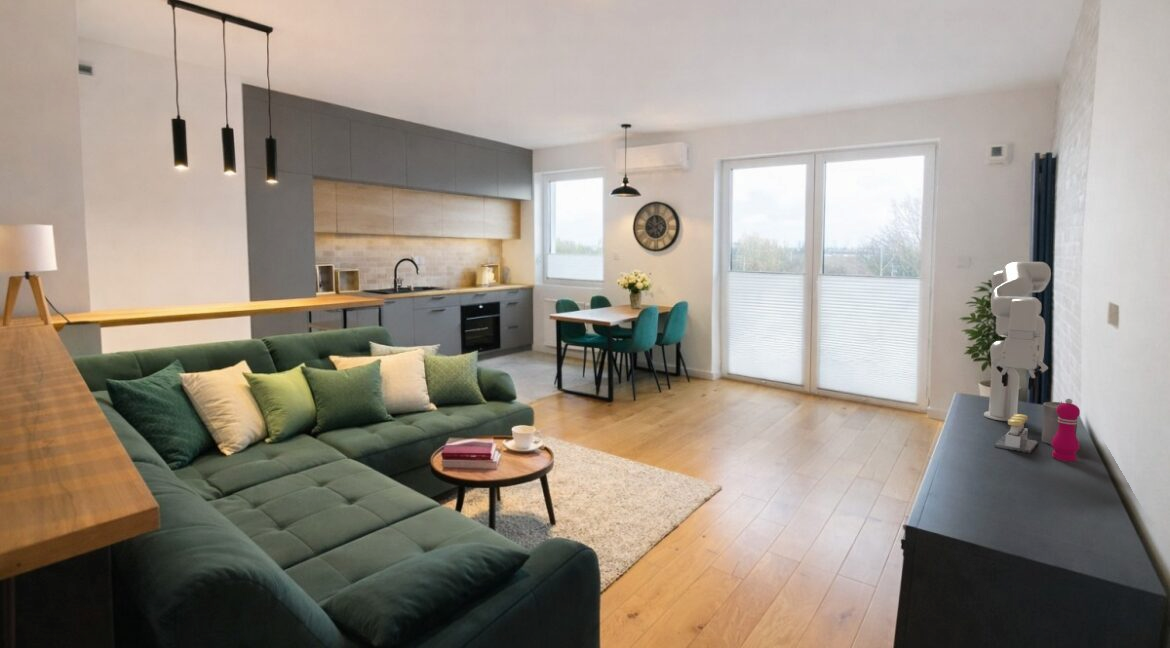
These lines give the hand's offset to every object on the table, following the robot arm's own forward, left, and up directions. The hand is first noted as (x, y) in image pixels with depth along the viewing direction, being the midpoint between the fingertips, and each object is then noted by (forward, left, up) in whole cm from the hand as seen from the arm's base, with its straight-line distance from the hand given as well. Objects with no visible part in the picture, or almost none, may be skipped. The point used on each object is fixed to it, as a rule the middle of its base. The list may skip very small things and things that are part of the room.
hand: (1017, 386), depth 208 cm
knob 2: (-5, 0, -17) cm, 18 cm away
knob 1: (0, 0, -17) cm, 17 cm away
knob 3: (-9, 0, -17) cm, 20 cm away
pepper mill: (+1, +14, -22) cm, 26 cm away
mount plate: (-5, 0, -22) cm, 22 cm away
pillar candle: (-18, +10, -22) cm, 30 cm away
